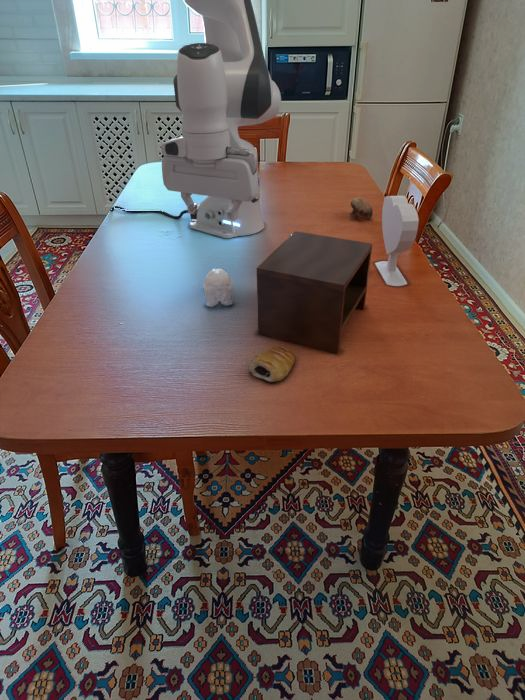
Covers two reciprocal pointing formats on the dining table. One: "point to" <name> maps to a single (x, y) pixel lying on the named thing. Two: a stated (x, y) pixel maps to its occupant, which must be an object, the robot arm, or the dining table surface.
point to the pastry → (273, 363)
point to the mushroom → (360, 209)
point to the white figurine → (218, 287)
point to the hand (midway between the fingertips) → (212, 216)
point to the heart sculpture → (397, 236)
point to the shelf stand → (312, 289)
